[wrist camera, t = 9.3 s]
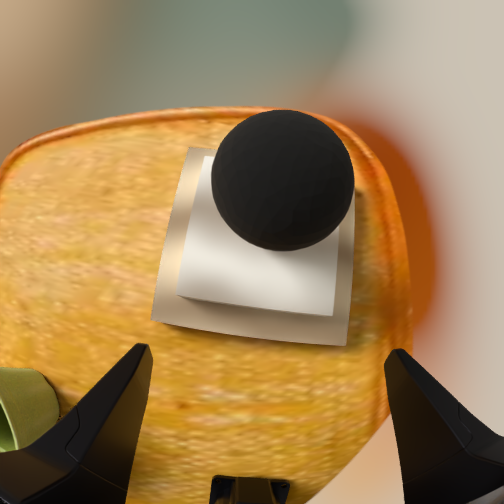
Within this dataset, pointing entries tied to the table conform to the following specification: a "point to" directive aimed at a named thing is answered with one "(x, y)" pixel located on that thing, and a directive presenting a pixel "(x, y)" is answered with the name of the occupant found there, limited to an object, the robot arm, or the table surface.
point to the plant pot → (25, 407)
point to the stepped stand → (249, 273)
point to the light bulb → (282, 180)
